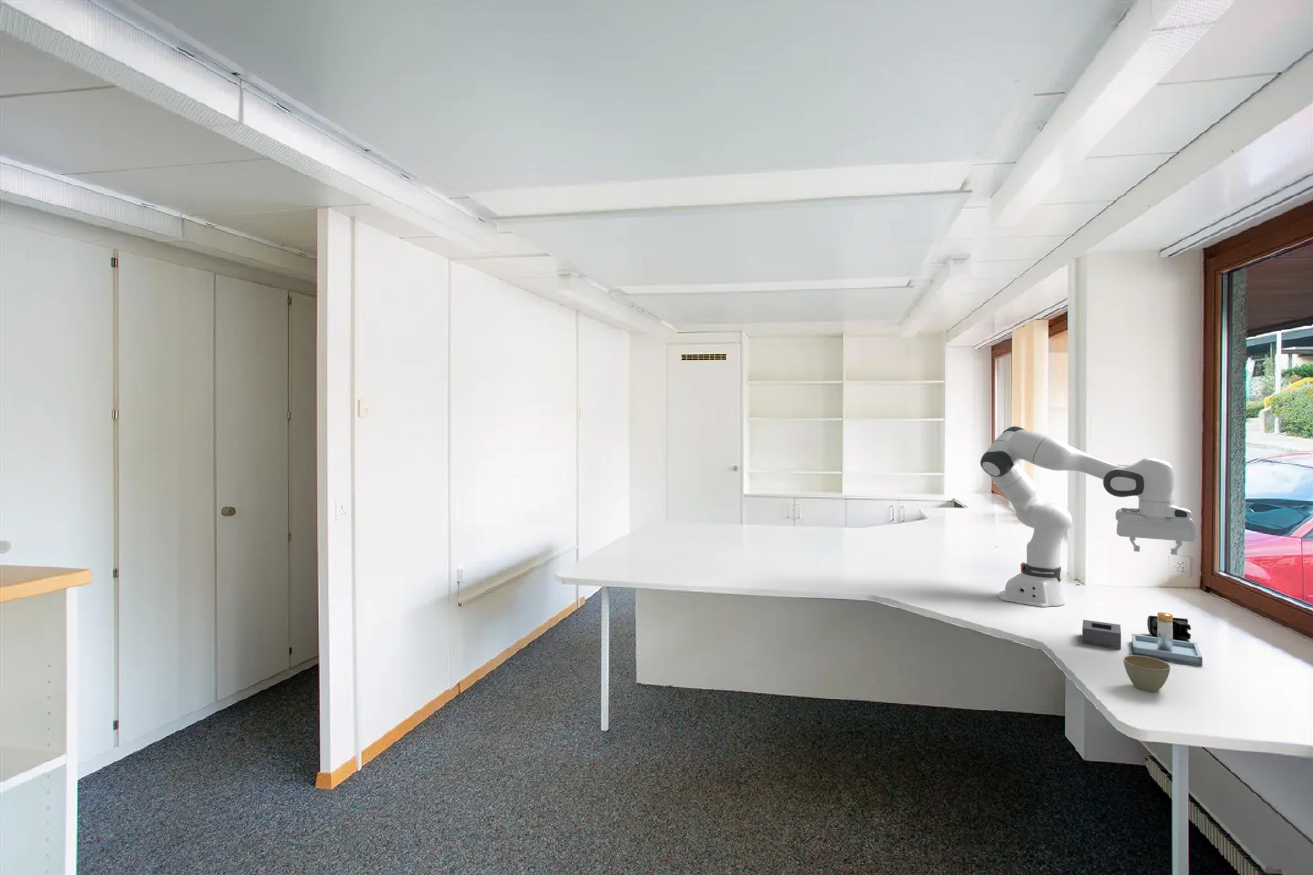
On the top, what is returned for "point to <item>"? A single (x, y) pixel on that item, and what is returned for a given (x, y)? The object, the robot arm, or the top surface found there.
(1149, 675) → the olive bowl
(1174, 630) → the end cap
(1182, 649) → the tray
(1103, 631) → the socket block
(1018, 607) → the top surface
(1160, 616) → the gold and grey cylinder
